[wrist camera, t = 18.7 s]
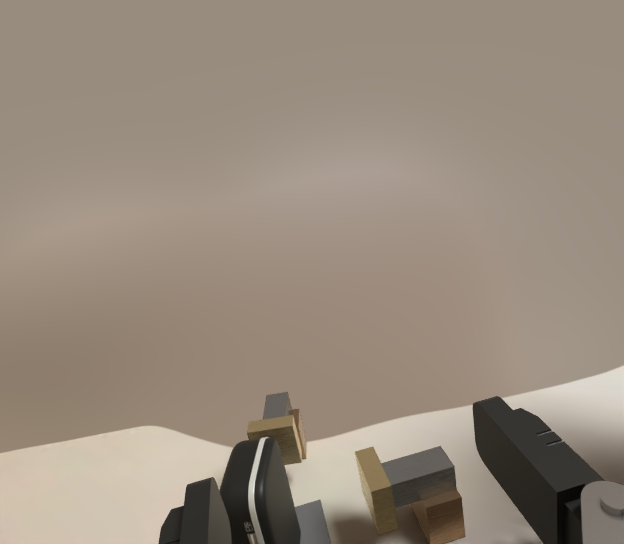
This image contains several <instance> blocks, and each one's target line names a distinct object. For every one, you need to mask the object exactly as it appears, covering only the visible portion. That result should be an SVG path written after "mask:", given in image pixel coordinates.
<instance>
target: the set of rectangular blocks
mask: <svg viewBox="0 0 624 544" xmlns="http://www.w3.org/2000/svg"><path fill="white" fill-rule="evenodd" d="M247 435H248V438H249V440H256V439H261V438H264V437H268V438H273V439H276V441H277V443H278V445H279V448H280V452H281V455H282V459H283V463H284V465H287V464H294V463H300V462H302V459H306V436H305V432H304V428H303V423H302V419H301V415H300V411H299V409H294V410H292V408H291V404H290V399H289V396H288V392H284V393H278V394H272V395H267V396H266V402H265V409H264V416H263V420H259V421H252V422H249V425H248V431H247ZM355 455H356V460H357V465H358V470H359V475H360V481H361V486H362V491H363V494H364V497H365V499H366V502H367V505H368V508H369V510H370V513H371V516H372V518H373V521H374V524H375V526H376V529H377V532H378V534H379V535H380V534H384V533H387V532H390V531H393V530H397V529H398V525H397V519H396V512H395V508H398V507H401V506H404V505H407V504H411V505H412V509H413V511H414V513H415V516H416V518H417V520H418V522H419V524H420V526H421V528H422V530H423V532H424V534H425V536H426V538H427V540H428V542H429V544H444V543H447V542H450V541H453V540H456V539H460V538H463V537H465V529H464V519H463V508H462V498H461V496H460V494H459V493H458V491H457V489H456V479H455V469H454V465H453V464H452V462H451V461H450V459H449V458H448V456H447V455H446V453H445V452H444V450H443V449H442V447H441V446H439V447H436V448H432V449H429V450H426V451H422V452H419V453H415V454H412V455H409V456H405V457H402V458H398V459H395V460H391V461H388V462H385V463H380V460H379V458H378V456H377V454H376V452H375V450H374V447H370V448H367V449H363V450H360V451H356V452H355Z"/></svg>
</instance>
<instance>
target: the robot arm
mask: <svg viewBox="0 0 624 544" xmlns="http://www.w3.org/2000/svg"><path fill="white" fill-rule="evenodd" d="M473 418H474V430H475V441H476V446H477V450H478V452H479V455H480V457H481V459H482V461H483V462H484V464H485V465H486V467H487V468H488V469H489V471H490V472H491V473H492V475H493V476H494V477H495V479H496V480H497V481H498V483H499V484H500V485H501V487H502V488H503V489H504V491H505V492H506V493H507V495H508V496H509V498H510V499H511V500H512V502H513V503H514V504H515V506H516V507H517V508H518V510H519V511H520V512H521V514H522V515H523V516H524V518H525V519H526V520H527V522H528V523H529V524H530V526H531V527H532V528H533V530H534V531H535V532H536V534H537V535H538V536H539V538H540V539H541V541H542V542H543V543H544V544H624V485H621V484H619V483H615V482H610V481H605V480H604V479H603V478H602V477H601V476H600V475H598V474H597V473H596V472H595V471H594V470H593V469H592V468H591V467H590V466H589V465H588V464H587V463H586V462H585V461H584V460H583V459H582V458H581V457H580V456H579V455H578V454H577V453H575V452H574V451H573V450H572V449H571V448H570V447H569V446H568V445H567V444H566V443H565V442H562V439H561V438H560V437H559V436H558V435H557V434H556V433H555V432H552V431H551V429H550V428H549V427H548V426H547V425H546V424H545V423H544V422H543V421H542V420H541V419H540V418H539V417H538V416H536V415H534V414H532V413H530V412H528V411H526V410H524V409H522V408H519V409H516V410H512V409H511V408H510V407H509V406H508V405H507V404H506V403H505V402H504V401H503V400H502V399H501V398H500V397H498V396H496V397H493V398H489V399H485V400H482V401H478V402H475V403H474V404H473ZM159 544H232V539H231V528H230V522H229V518H228V515H227V512H226V509H225V506H224V503H223V500H222V498H221V495H220V492H219V489H218V486H217V483H216V481H215V479H214V478H213V477H212V478H208V479H205V480H201V481H198V482H194V483H191V484H188V485H187V487H186V493H185V502H184V506H181V507H178V508H174V509H171V511H170V513H169V515H168V516H167V518H166V520H165V522H164V524H163V525H162V527H161V532H160V538H159Z"/></svg>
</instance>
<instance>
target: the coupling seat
mask: <svg viewBox="0 0 624 544" xmlns="http://www.w3.org/2000/svg"><path fill="white" fill-rule="evenodd" d="M295 511H296V515H297V519H298V522H299V526H300V530H301V538H300V544H331V541H330V537H329V533H328V529H327V525H326V521H325V517H324V513H323V509H322V505H321V501H320V500H317V501H314V502H311V503H307V504H304V505H301V506H297V507H295Z"/></svg>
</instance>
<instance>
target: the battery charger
mask: <svg viewBox="0 0 624 544" xmlns="http://www.w3.org/2000/svg"><path fill="white" fill-rule="evenodd" d="M219 492H220V495H221V498H222V500H223V503H224V506H225V509H226V512H227V515H228V518H229V522H230V528H231V539H232V544H300V538H301V530H300V526H299V522H298V519H297V515H296V511H295V507H294V503H293V499H292V495H291V490H290V486H289V482H288V478H287V474H286V470H285V467H284V463H283V459H282V455H281V452H280V448H279V445H278V443H277V441H276V439H273V438H268V437H264V438H261V439H256V440H247V441H242V442H240V443H238V444H237V445H236V446H235V447H234V448H233V450H232V453H231V456H230V459H229V461H228V464H227V467H226V471H225V474H224V477H223V480H222V483H221V487H220V491H219Z"/></svg>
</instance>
